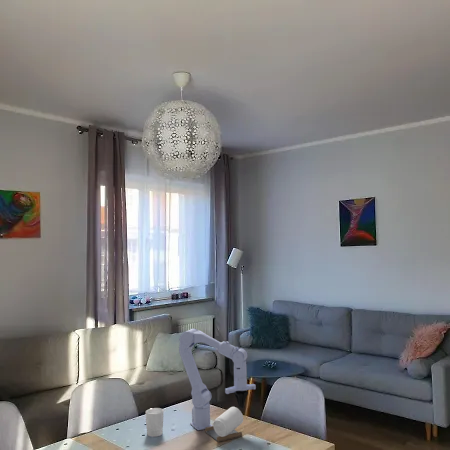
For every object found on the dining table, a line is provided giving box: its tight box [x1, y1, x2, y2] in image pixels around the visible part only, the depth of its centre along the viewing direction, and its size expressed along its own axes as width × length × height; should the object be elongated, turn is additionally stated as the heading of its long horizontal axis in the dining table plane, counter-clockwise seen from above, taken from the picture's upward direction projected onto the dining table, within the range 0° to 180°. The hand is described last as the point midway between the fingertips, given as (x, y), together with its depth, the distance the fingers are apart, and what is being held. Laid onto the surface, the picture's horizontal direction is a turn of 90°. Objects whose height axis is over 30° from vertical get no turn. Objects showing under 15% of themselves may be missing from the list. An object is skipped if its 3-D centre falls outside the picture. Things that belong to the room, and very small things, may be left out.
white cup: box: [145, 407, 165, 438], centre depth 203 cm, size 8×8×10 cm
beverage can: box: [212, 406, 244, 437], centre depth 198 cm, size 8×8×12 cm
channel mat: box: [204, 426, 243, 443], centre depth 201 cm, size 13×12×2 cm
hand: (241, 407), depth 206 cm, fingers closed
